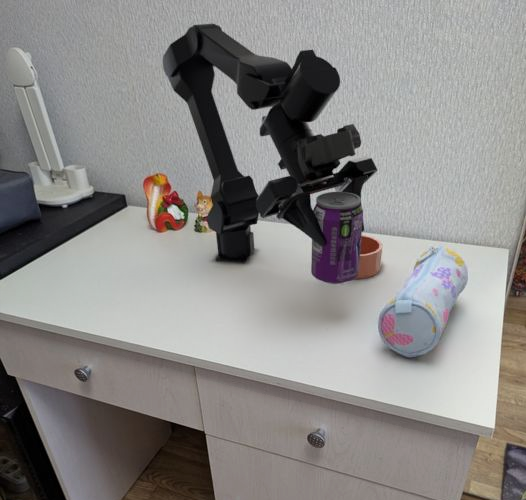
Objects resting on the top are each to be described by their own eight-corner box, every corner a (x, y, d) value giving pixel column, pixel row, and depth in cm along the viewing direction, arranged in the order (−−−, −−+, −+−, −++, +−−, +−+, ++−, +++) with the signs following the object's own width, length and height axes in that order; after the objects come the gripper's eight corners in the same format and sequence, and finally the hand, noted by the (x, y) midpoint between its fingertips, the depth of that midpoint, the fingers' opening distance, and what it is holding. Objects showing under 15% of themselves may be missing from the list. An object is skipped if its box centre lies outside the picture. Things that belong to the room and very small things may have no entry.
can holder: (323, 276, 91) (324, 253, 88) (332, 254, 98) (333, 232, 96) (377, 281, 88) (380, 257, 86) (382, 258, 96) (384, 236, 93)
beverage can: (355, 289, 72) (361, 209, 65) (307, 285, 73) (308, 206, 66) (360, 267, 77) (366, 191, 70) (315, 264, 79) (317, 189, 72)
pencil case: (411, 289, 85) (419, 237, 80) (464, 300, 81) (476, 246, 76) (371, 353, 70) (377, 295, 65) (433, 369, 67) (445, 309, 61)
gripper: (264, 115, 60) (320, 228, 59) (374, 95, 68) (425, 194, 67) (234, 168, 70) (282, 265, 69) (334, 145, 78) (377, 231, 77)
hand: (343, 238), depth 70 cm, fingers closed on beverage can, 7 cm apart
